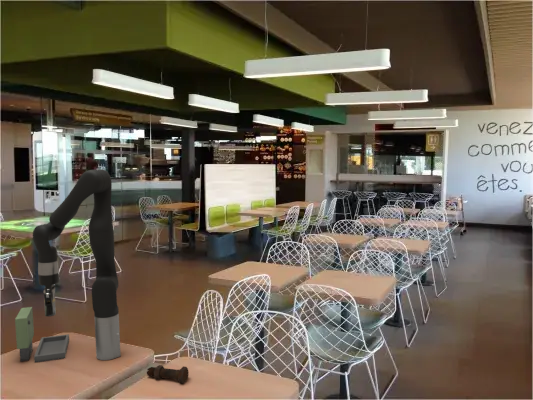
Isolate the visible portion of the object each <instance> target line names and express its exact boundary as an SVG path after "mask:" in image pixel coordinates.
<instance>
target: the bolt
mask: <svg viewBox="0 0 533 400" xmlns="http://www.w3.org/2000/svg"><path fill="white" fill-rule="evenodd" d="M146 375H147V376H149V377H154V379H155V380H162V379H171V380H177V381H178V382H179V383H180V384H185V383H186V382H187V381H188V379H189V368H188V367H187V366H183V365H182V367H181V368H179V369H175V368H174V369H173V368H165V367H164V365H162V364H159V365H157V366H156V367H154V366H150V367H148V368H147V369H146Z"/></svg>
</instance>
